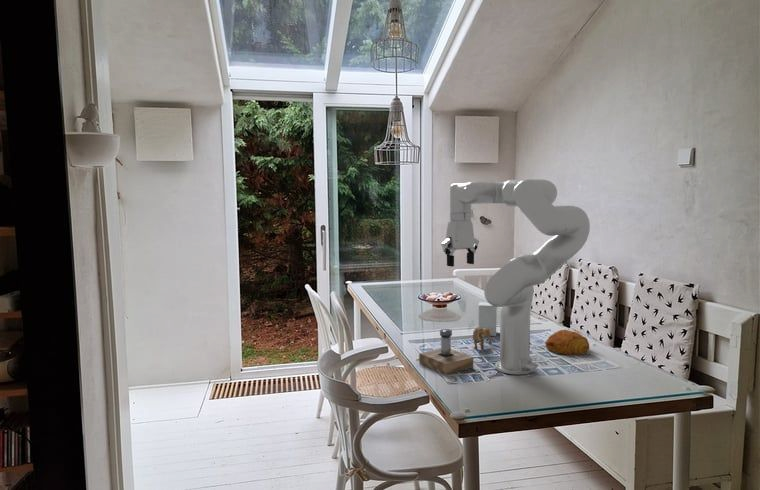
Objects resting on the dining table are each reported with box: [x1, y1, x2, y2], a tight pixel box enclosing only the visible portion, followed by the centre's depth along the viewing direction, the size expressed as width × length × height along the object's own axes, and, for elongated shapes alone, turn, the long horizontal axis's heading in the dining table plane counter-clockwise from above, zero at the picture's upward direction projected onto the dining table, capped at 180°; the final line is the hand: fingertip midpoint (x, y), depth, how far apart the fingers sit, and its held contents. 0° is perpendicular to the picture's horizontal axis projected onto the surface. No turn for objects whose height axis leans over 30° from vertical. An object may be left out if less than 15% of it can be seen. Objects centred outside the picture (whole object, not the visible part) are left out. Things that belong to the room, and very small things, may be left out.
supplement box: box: [477, 301, 498, 337], centre depth 213 cm, size 7×7×13 cm
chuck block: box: [418, 347, 474, 375], centre depth 175 cm, size 14×12×4 cm
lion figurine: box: [472, 326, 493, 351], centre depth 194 cm, size 15×5×9 cm, turn 156°
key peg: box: [439, 328, 453, 358], centre depth 174 cm, size 4×4×12 cm
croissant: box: [544, 329, 590, 356], centre depth 190 cm, size 14×16×8 cm
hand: (460, 265), depth 186 cm, fingers open, 9 cm apart
